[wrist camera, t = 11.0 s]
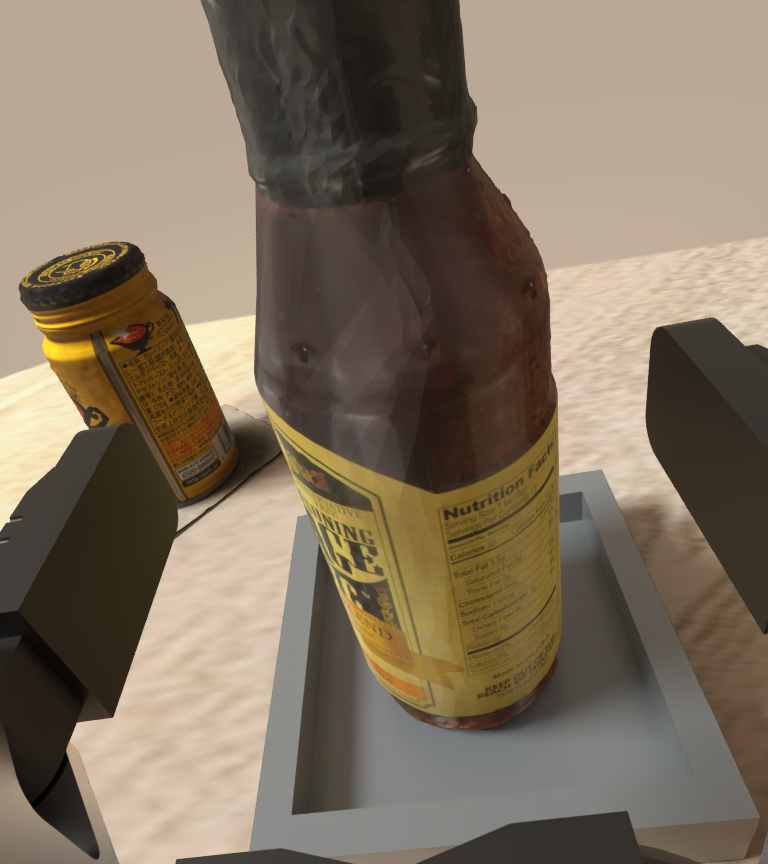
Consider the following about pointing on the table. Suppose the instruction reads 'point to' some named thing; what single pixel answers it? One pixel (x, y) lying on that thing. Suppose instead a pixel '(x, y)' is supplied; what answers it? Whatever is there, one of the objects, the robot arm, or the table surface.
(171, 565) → the table surface
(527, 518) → the sauce bottle
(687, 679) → the tray
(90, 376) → the condiment
